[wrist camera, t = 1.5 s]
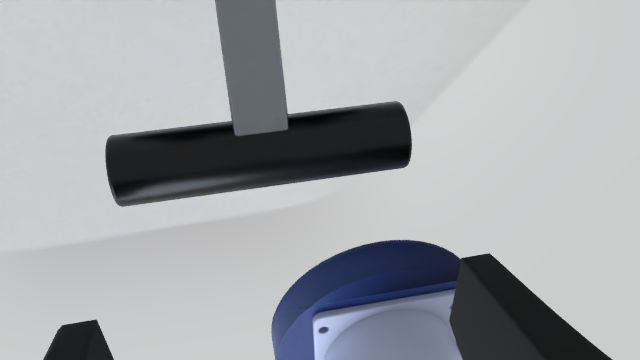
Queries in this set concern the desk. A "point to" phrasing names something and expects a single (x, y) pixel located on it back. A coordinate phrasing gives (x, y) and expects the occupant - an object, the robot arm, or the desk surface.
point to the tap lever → (255, 129)
